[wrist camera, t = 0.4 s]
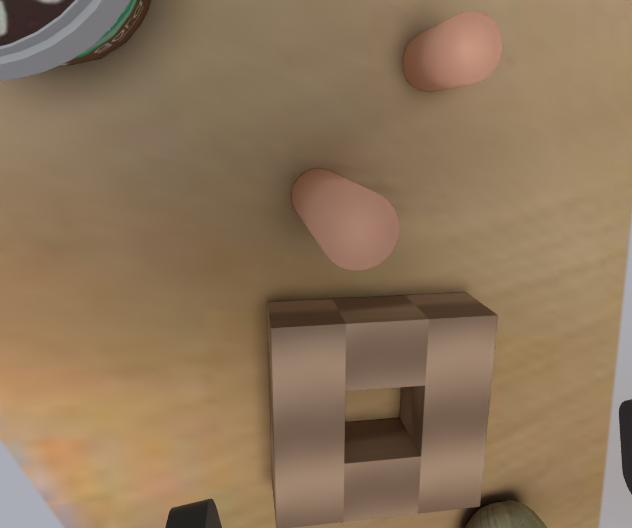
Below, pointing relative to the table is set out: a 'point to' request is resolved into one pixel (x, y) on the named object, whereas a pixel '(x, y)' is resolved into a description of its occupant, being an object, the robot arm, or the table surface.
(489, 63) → the short dowel
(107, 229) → the table surface
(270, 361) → the walnut block
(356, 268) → the long dowel
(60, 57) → the food container
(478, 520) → the fennel bulb
